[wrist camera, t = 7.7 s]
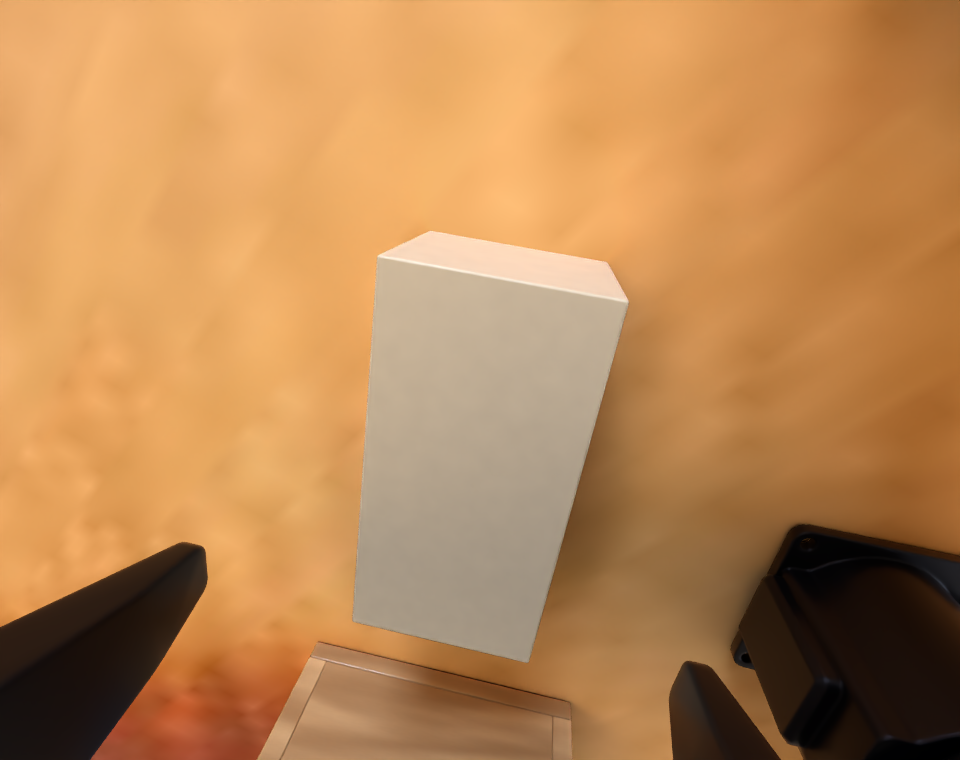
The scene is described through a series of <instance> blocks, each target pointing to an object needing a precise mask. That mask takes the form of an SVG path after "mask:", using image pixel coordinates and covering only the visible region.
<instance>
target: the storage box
mask: <svg viewBox="0 0 960 760" xmlns="http://www.w3.org/2000/svg"><path fill="white" fill-rule="evenodd" d="M257 760H572V728H571V704H570V703H569V702H565V701H561V700H557V699H553V698H548V697H544V696H540V695H536V694H532V693H528V692H524V691H519V690H515V689H511V688H507V687H503V686H499V685H495V684H490V683H486V682H482V681H478V680H474V679H470V678H466V677H461V676H457V675H453V674H449V673H445V672H441V671H437V670H432V669H428V668H424V667H420V666H416V665H412V664H407V663H403V662H399V661H395V660H391V659H387V658H383V657H378V656H374V655H370V654H366V653H362V652H358V651H354V650H349V649H345V648H341V647H337V646H333V645H329V644H325V643H320V642H317V644H316V646H315V648H314V650H313V652H312V653H311V655H310V658H309V659H308V661H307V663H306V665H305V667H304V669H303V671H302V673H301V675H300V677H299V678H298V680H297V682H296V684H295V686H294V688H293V690H292V692H291V694H290V696H289V698H288V700H287V702H286V704H285V706H284V708H283V710H282V712H281V714H280V716H279V718H278V720H277V722H276V724H275V725H274V727H273V729H272V731H271V733H270V735H269V737H268V739H267V741H266V743H265V745H264V747H263V749H262V751H261V753H260V755H259V757H258V759H257Z"/></svg>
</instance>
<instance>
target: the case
mask: <svg viewBox="0 0 960 760" xmlns="http://www.w3.org/2000/svg"><path fill="white" fill-rule="evenodd" d="M628 305H629V301H628V299H627V297H626V295H625V293H624V292H623V290H622V288H621V286H620V284H619V283H618V281H617V279H616V277H615V275H614V273H613V272H612V270H611V268H610V266H609V264H608V263H607V262H603V261H598V260H592V259H587V258H581V257H575V256H570V255H564V254H558V253H553V252H547V251H542V250H536V249H530V248H525V247H519V246H513V245H508V244H502V243H497V242H491V241H485V240H480V239H474V238H468V237H463V236H457V235H452V234H446V233H440V232H435V231H429V232H426V233H424V234H422V235H420V236H418V237H416V238H414V239H411V240H409V241H407V242H405V243H403V244H401V245H399V246H397V247H394V248H392V249H390V250H388V251H386V252H384V253H382V254H379V255H378V257H377V267H376V282H375V297H374V311H373V326H372V340H371V355H370V370H369V384H368V399H367V414H366V428H365V443H364V457H363V472H362V487H361V501H360V516H359V531H358V545H357V560H356V575H355V589H354V604H353V618H352V620H353V622H356V623H360V624H365V625H369V626H373V627H377V628H382V629H386V630H390V631H394V632H398V633H403V634H407V635H411V636H415V637H420V638H424V639H428V640H432V641H436V642H441V643H445V644H449V645H453V646H458V647H462V648H466V649H470V650H474V651H479V652H483V653H487V654H491V655H496V656H500V657H504V658H508V659H512V660H517V661H521V662H525V663H528V662H529V660H530V657H531V653H532V649H533V646H534V642H535V639H536V635H537V631H538V628H539V624H540V621H541V617H542V613H543V610H544V606H545V603H546V599H547V596H548V592H549V588H550V585H551V581H552V578H553V574H554V570H555V567H556V563H557V560H558V556H559V552H560V549H561V545H562V542H563V538H564V534H565V531H566V527H567V524H568V520H569V516H570V513H571V509H572V506H573V502H574V499H575V495H576V491H577V488H578V484H579V481H580V477H581V473H582V470H583V466H584V463H585V459H586V455H587V452H588V448H589V445H590V441H591V437H592V434H593V430H594V427H595V423H596V419H597V416H598V412H599V409H600V405H601V402H602V398H603V394H604V391H605V387H606V384H607V380H608V376H609V373H610V369H611V366H612V362H613V358H614V355H615V351H616V348H617V344H618V340H619V337H620V333H621V330H622V326H623V322H624V319H625V315H626V312H627V308H628Z"/></svg>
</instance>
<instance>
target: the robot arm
mask: <svg viewBox="0 0 960 760" xmlns="http://www.w3.org/2000/svg"><path fill="white" fill-rule="evenodd" d="M807 538H810V540H809V541H807V542H802V541H803V540H804V539H807ZM207 580H208V575H207V564H206V552H205V549H204V548H203V547H202V546H200V545H196V544H191V543H187V542H181V543H178V544H176V545H174V546H171V547H169V548H167V549H165V550H163V551H161V552H159V553H157V554H154V555H152V556H150V557H148V558H146V559H144V560H142V561H140V562H138V563H135V564H133V565H131V566H129V567H127V568H125V569H123V570H121V571H118V572H116V573H114V574H112V575H110V576H108V577H106V578H104V579H101V580H99V581H97V582H95V583H93V584H91V585H89V586H87V587H85V588H82V589H80V590H78V591H76V592H74V593H72V594H70V595H68V596H65V597H63V598H61V599H59V600H57V601H55V602H53V603H51V604H49V605H46V606H44V607H42V608H40V609H38V610H36V611H34V612H32V613H29V614H27V615H25V616H23V617H21V618H19V619H17V620H15V621H12V622H10V623H8V624H6V625H4V626H2V627H0V760H90V759H91V758H92V756H93V755H94V754H95V752H96V751H97V750H98V748H99V747H100V746H101V744H102V743H103V741H104V740H105V739H106V737H107V736H108V735H109V733H110V732H111V731H112V729H113V728H114V727H115V725H116V724H117V722H118V721H119V720H120V718H121V717H122V716H123V714H124V713H125V712H126V710H127V709H128V708H129V706H130V705H131V703H132V702H133V701H134V699H135V698H136V697H137V695H138V694H139V693H140V691H141V690H142V689H143V687H144V686H145V684H146V683H147V682H148V680H149V679H150V677H151V676H152V675H153V673H154V672H155V670H156V669H157V667H158V666H159V664H160V663H161V661H162V659H163V658H164V656H165V655H166V653H167V651H168V650H169V648H170V646H171V645H172V643H173V641H174V640H175V638H176V636H177V635H178V633H179V632H180V630H181V628H182V627H183V625H184V623H185V622H186V620H187V618H188V617H189V615H190V613H191V612H192V610H193V608H194V607H195V605H196V603H197V602H198V600H199V598H200V597H201V595H202V594H203V592H204V590H205V587H206V585H207ZM730 650H731V652H732V655H733V658H734V661H735V663H737V664H738V665H739V666H742V667H746V668H750V669H754V670H755V671H756V673H757V676H758V678H759V681H760V684H761V686H762V689H763V691H764V694H765V696H766V699H767V701H768V704H769V706H770V709H771V711H772V714H773V716H774V719H775V721H776V724H777V726H778V729H779V732H780V734H781V735H782V737H783V738H784V739H785V741H786V742H787V743H788V744H790V745H794V746H798V748H799V750H800V752H801V755H802V757H803V760H960V556H956V555H951V554H947V553H942V552H937V551H932V550H927V549H923V548H918V547H913V546H908V545H904V544H899V543H894V542H889V541H884V540H880V539H875V538H870V537H865V536H860V535H856V534H851V533H846V532H841V531H837V530H832V529H827V528H822V527H817V526H813V525H804V524H803V525H798V526H796V527H794V528H792V529H791V530H790V531H789V533H788V534H787V536H786V538H785V540H784V542H783V544H782V546H781V548H780V550H779V552H778V554H777V556H776V558H775V560H774V562H773V564H772V566H771V568H770V570H769V572H768V574H767V575H766V576H765V577H764V578H763V579H762V581H761V583H760V585H759V587H758V589H757V591H756V593H755V595H754V597H753V599H752V601H751V603H750V605H749V607H748V609H747V611H746V613H745V615H744V617H743V619H742V621H741V623H740V625H739V631H738V633H737V635H736V637H735V639H734V641H733V643H732V645H731V649H730ZM745 653H746V654H745ZM669 711H670V724H671V737H672V751H673V760H781V759H780V758H779V756H778V755H777V754H776V752H775V751H774V750H773V748H772V747H771V746H770V744H769V743H768V742H767V741H766V739H765V738H764V737H763V735H762V734H761V733H760V731H759V730H758V729H757V727H756V726H755V725H754V723H753V722H752V721H751V719H750V718H749V717H748V715H747V714H746V713H745V711H744V710H743V709H742V707H741V706H740V705H739V703H738V702H737V701H736V699H735V698H734V697H733V695H732V694H731V693H730V691H729V690H728V689H727V687H726V686H725V685H724V683H723V682H722V681H721V680H720V678H719V677H718V676H717V674H716V673H715V672H714V670H713V669H712V668H711V667H709V666H708V665H705V664H701V663H697V662H692V661H686V662H684V663H683V665H682V666H681V669H680V671H679V673H678V675H677V677H676V680H675V682H674V684H673V686H672V688H671V691H670V696H669Z"/></svg>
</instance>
